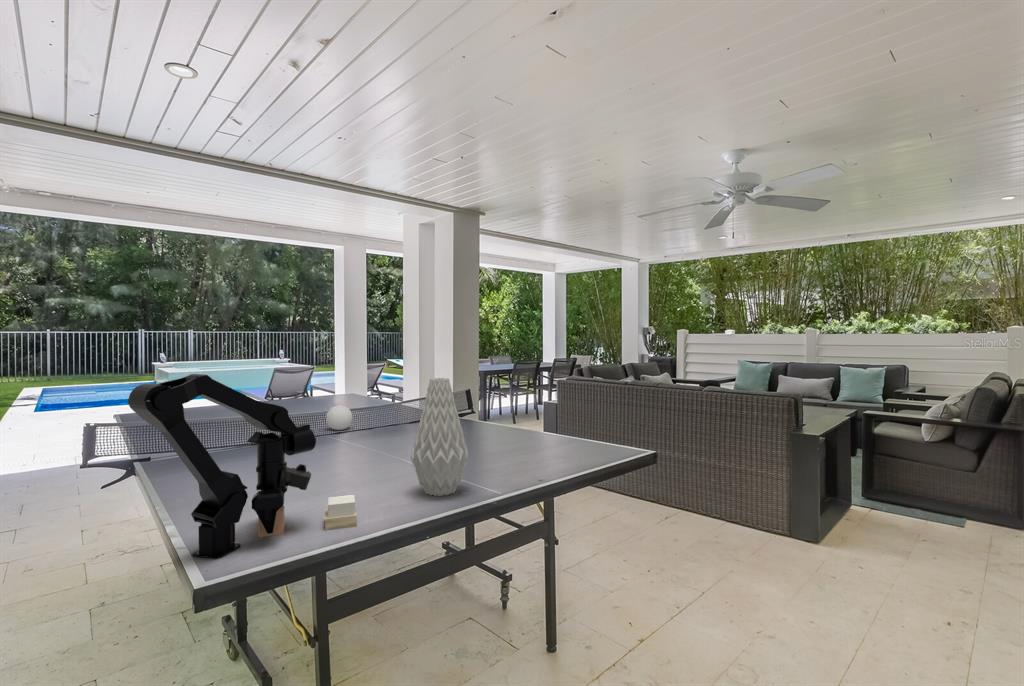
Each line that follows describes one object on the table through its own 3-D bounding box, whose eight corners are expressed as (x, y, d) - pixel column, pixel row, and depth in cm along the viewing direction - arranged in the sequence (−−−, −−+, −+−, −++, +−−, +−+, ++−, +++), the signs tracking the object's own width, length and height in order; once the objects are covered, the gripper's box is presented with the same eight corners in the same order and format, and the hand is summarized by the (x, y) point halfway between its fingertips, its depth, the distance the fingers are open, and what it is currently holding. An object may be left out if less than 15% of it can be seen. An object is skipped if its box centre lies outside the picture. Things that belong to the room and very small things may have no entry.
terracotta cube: (282, 534, 116) (282, 512, 116) (258, 537, 114) (258, 515, 114) (284, 526, 121) (284, 505, 120) (261, 529, 119) (260, 508, 119)
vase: (403, 488, 150) (402, 377, 150) (455, 480, 158) (454, 375, 158) (422, 504, 136) (421, 381, 135) (478, 494, 144) (477, 379, 143)
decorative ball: (327, 428, 252) (326, 404, 251) (352, 427, 255) (352, 403, 255) (325, 432, 240) (325, 407, 240) (352, 431, 244) (352, 406, 244)
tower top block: (355, 514, 121) (354, 502, 121) (328, 517, 119) (328, 505, 119) (354, 506, 127) (354, 494, 127) (328, 509, 125) (328, 497, 125)
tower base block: (356, 527, 120) (356, 515, 120) (325, 531, 118) (325, 519, 118) (355, 518, 127) (354, 506, 127) (325, 521, 125) (325, 509, 125)
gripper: (307, 465, 111) (308, 536, 111) (309, 448, 129) (310, 510, 129) (250, 470, 107) (251, 544, 107) (260, 452, 125) (261, 515, 125)
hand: (271, 527), depth 117 cm, fingers open, 8 cm apart
